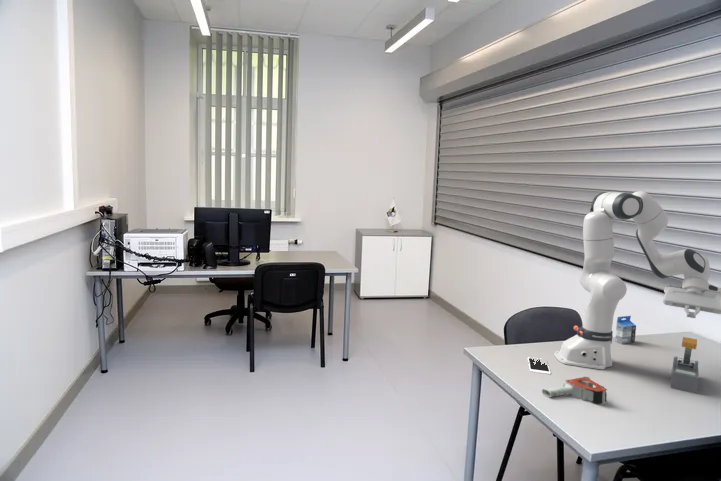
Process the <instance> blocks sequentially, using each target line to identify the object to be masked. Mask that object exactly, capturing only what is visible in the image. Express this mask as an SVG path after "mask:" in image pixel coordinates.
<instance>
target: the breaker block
mask: <svg viewBox="0 0 721 481" xmlns="http://www.w3.org/2000/svg"><path fill="white" fill-rule="evenodd" d="M683 359H684V358H681V357H679V356H673V362H672V369H671V379H670V388H671V389H675V390H679V391H683V392H689V393H691V394H692V393H693V394H695V395H697V393H698V387H699V386H698V385H699V379H700V377H699V376H700V375H699V374H700V373H699V360H691V359H690V362H692V363H694V368H690V367H686V366H681V365H678V360H682V361H683Z"/></svg>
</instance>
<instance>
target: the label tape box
mask: <svg viewBox="0 0 721 481" xmlns="http://www.w3.org/2000/svg"><path fill="white" fill-rule="evenodd" d="M631 316H632V315H625V316H618V317H617V320H616V327H615V329H616V330H615V341H614V342H615V343H618V344H620V345H621V344H622V345H623V344H631V343H635V342H636V332H637V331H636V330H637V325H636V324H635V323H634V322H632V321H631Z"/></svg>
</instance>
